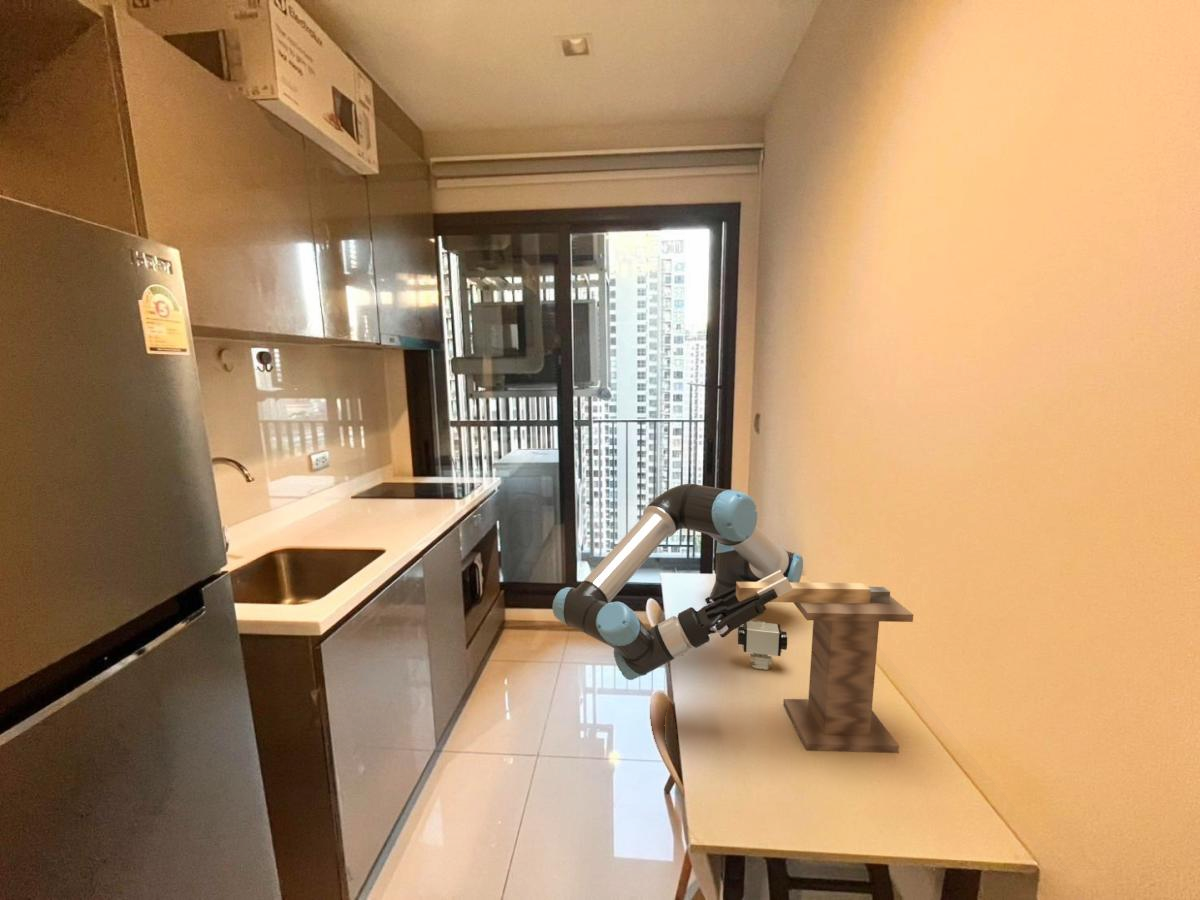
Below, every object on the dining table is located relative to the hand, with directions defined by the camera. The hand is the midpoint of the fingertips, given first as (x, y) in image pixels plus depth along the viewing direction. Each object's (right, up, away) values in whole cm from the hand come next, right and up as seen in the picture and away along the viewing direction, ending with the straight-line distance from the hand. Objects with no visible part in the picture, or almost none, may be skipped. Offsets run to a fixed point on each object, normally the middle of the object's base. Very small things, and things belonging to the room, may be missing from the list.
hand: (786, 579), depth 102 cm
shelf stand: (+12, -32, +4) cm, 35 cm away
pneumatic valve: (+3, -29, +27) cm, 40 cm away
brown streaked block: (+5, -4, 0) cm, 7 cm away
